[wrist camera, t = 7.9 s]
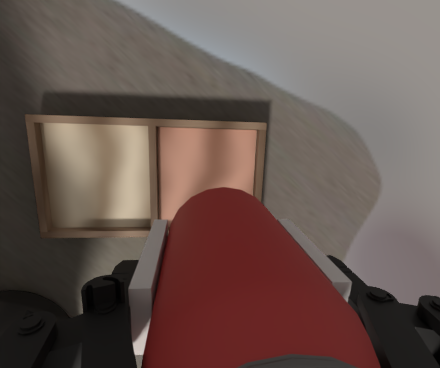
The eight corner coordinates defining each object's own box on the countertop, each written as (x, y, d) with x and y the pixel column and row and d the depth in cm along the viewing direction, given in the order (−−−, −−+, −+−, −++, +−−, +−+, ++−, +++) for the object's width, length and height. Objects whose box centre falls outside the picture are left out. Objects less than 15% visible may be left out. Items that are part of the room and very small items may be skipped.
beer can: (168, 184, 16) (102, 358, 4) (275, 184, 16) (474, 335, 5) (169, 282, 17) (123, 613, 6) (267, 278, 18) (406, 566, 6)
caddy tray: (52, 229, 33) (40, 238, 31) (39, 114, 30) (24, 114, 28) (253, 227, 36) (258, 235, 34) (260, 122, 33) (266, 122, 30)
